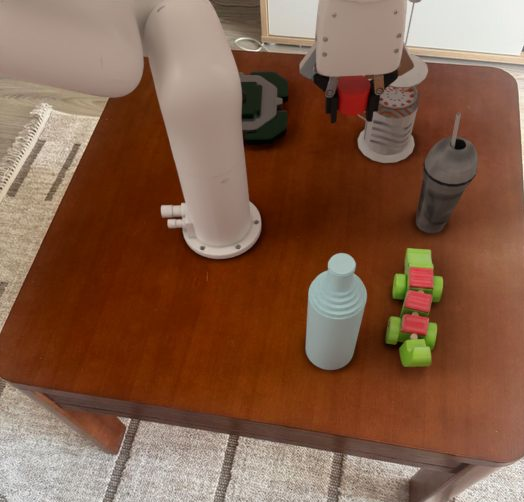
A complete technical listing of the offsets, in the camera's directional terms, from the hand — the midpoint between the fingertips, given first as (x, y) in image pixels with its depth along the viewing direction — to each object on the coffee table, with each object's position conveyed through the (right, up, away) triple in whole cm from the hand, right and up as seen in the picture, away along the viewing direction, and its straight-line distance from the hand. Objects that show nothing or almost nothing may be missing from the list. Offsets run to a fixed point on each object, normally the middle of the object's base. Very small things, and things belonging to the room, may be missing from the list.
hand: (350, 114), depth 71 cm
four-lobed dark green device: (-16, +11, +25) cm, 32 cm away
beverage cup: (+15, -12, +12) cm, 22 cm away
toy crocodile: (+10, -27, +5) cm, 29 cm away
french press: (+9, +4, +20) cm, 23 cm away
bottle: (-2, -32, +3) cm, 32 cm away
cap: (0, +1, -1) cm, 2 cm away
